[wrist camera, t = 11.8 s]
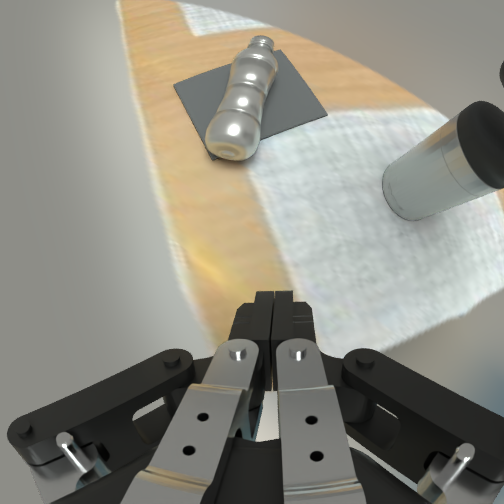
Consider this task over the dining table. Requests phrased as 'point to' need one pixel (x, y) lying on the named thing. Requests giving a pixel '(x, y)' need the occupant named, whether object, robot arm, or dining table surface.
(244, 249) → the dining table surface
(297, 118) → the rubber mat
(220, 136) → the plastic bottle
